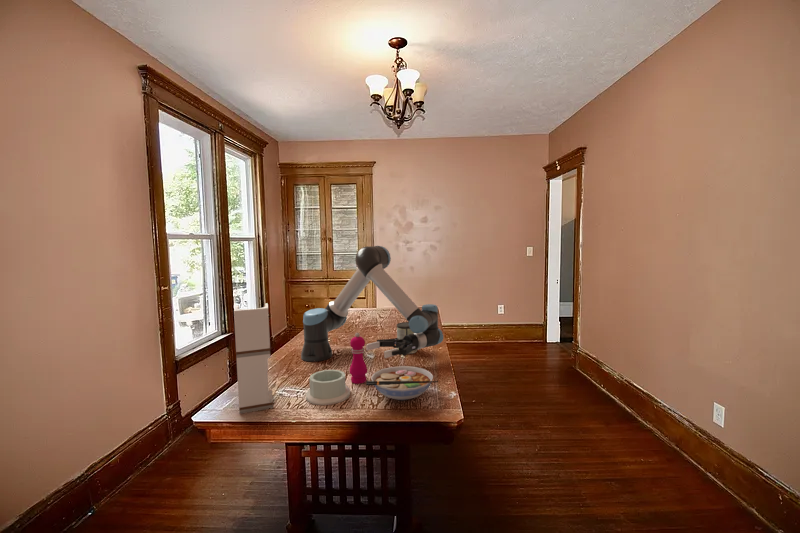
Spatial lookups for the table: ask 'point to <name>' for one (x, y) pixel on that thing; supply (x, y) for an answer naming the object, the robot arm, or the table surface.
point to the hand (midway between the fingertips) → (375, 350)
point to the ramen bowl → (401, 382)
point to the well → (327, 388)
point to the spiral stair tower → (252, 358)
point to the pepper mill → (358, 360)
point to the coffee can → (404, 332)
